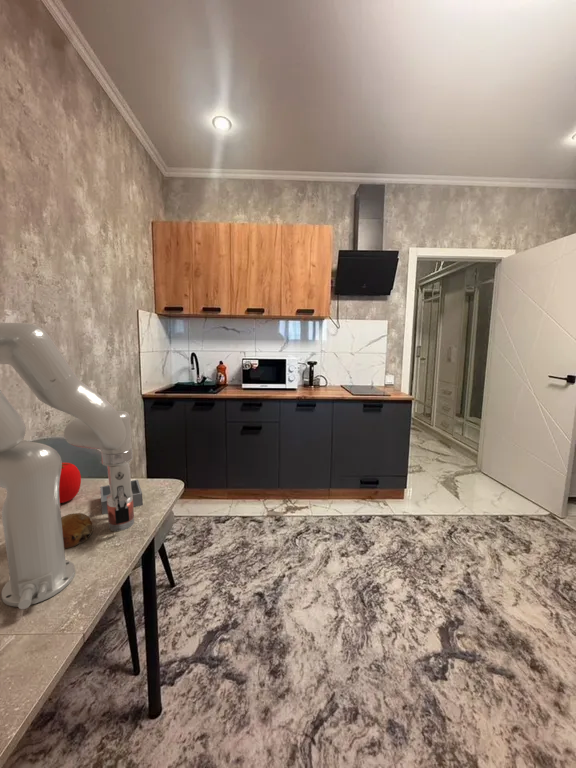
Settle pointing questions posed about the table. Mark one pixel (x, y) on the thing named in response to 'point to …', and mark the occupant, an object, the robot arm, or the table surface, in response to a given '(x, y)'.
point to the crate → (135, 491)
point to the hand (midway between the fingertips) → (121, 513)
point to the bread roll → (76, 529)
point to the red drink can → (111, 514)
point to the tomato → (69, 482)
